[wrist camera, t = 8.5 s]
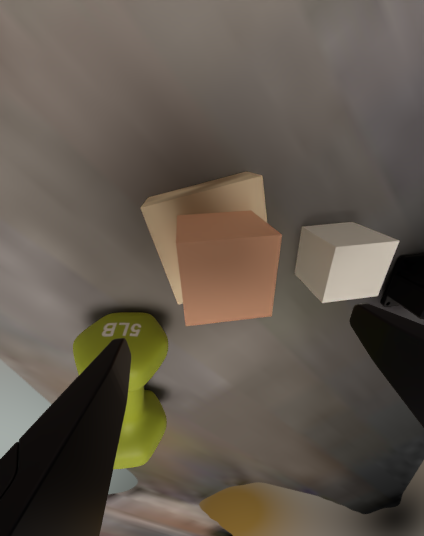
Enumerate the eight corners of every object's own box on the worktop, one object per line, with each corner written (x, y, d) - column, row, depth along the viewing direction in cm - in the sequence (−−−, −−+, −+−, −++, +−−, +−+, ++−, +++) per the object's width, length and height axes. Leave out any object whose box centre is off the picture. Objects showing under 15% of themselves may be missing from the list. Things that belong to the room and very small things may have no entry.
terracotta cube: (251, 210, 15) (282, 234, 10) (247, 274, 17) (271, 316, 13) (177, 215, 14) (175, 242, 10) (184, 280, 16) (186, 326, 12)
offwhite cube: (352, 221, 20) (399, 240, 16) (339, 268, 23) (377, 295, 18) (301, 226, 20) (335, 247, 15) (294, 273, 22) (322, 303, 18)
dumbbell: (87, 304, 21) (47, 370, 14) (171, 305, 22) (168, 366, 16) (105, 405, 28) (84, 478, 22) (167, 401, 29) (164, 469, 23)
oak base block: (245, 171, 17) (262, 175, 14) (257, 258, 21) (273, 279, 18) (148, 196, 17) (140, 207, 14) (178, 279, 21) (178, 304, 17)
